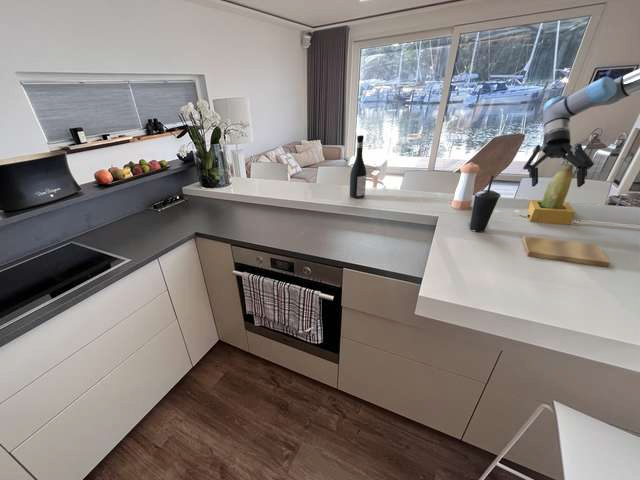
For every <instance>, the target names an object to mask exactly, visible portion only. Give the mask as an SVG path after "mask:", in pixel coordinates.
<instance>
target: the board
mask: <svg viewBox="0 0 640 480" xmlns="http://www.w3.org/2000/svg"><path fill="white" fill-rule="evenodd" d="M522 240H523V241H522V243H524V244H523V247H524V250H525V254H526V253H527V254H526V256H527V257H531V256H532V257H531V258H540V259H546V260H554V261H560V262H569V263H575V264H576V263H577V264H582V265H583V264H584V265H591V266H598V267H605V268H608V267H609V266H610V264H611V261H610V260H609V258H608V257H607V256H606V255H605V253H604V252H603V250H602V249H601V248H600V247H599V245H598V244H596V243H587V242H578V241H567V240H561V239H549V238H543V237H533V236H523V237H522Z"/></svg>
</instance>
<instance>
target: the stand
mask: <svg viewBox="0 0 640 480" xmlns="http://www.w3.org/2000/svg"><path fill="white" fill-rule="evenodd" d="M542 201H543V199H542V200H541V199H529V202H528V204H527V207H526V208H527V211H528V213H529V214H527V218H528V220H529V222H532V223H534V222H535V223H543V224H554V225H564V226H565V225H567V226H570V225H571V223H572V221H573V219H574V217H575V214H576V211H575V209H574V208H573V207H572V206H571V204H570V203H569V201H564V203H563V205H562V207H561V208H560V209H550V208H541V205H542Z"/></svg>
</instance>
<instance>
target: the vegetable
mask: <svg viewBox="0 0 640 480" xmlns="http://www.w3.org/2000/svg"><path fill="white" fill-rule="evenodd" d="M573 174H574V165H572V164H571V163H567V164H565V165H564V166H563V167H562V168H561V169H559V170H558V171H557V172H556V173H555V174H554V175H553V177H552V178H551V179H550V182H549V184H548V185H547V187H546V189H545V192H544V194H543V196H542V197H543V198H542V200H543V201H542V205H541V208H550V209H560V208H561V207H562V205H563V203H564V202H565V200H566V198H567V195H568V192H569V190H570V187H571V183H572V181H573Z"/></svg>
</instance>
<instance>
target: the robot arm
mask: <svg viewBox="0 0 640 480" xmlns="http://www.w3.org/2000/svg"><path fill="white" fill-rule="evenodd" d="M639 92H640V67H639V68H638V69H634V70H633V71H631V72H628V73H626V74H624V75H622V76H619V77H617V78H615V79H613V78H611V77H610V76H603V77H601V78H599V79H597V80H595V81H593V82H591V83H590V84H588V85H586V86H584V87H583V88H581V89H579V90H578V91H576V92H574V93H572V94H571V95H569V96H567V95H558V96H557V97H552V98H550V99H549V100H547V101H546V102H545V103H544V105H543V109H542V123H543V128H542V134H543V135H542V136H543V137H542V138H543V139H542V141H543V142H542V143H543V145H542V146H541V145H540V144H537V145H535V147H534V148H533V149H532V153H531V156H530V157H529V159H528V160H527V161H526V163H525V164H524V165H523V167H522V170H527V172H528V175H529V176H528V177H529V178H530V179H531V187H532V188H533V187H536V186H537V185H538V184H539V167H538V166H539V165H540V164H541V163H542V162H544V161H545V160H547V159H548V158H549V159H563V160H565V161H567V162H568V163H569V164H571V165H573V167H575V168H576V169H577V170H576V187H577V188H581V187H582V186H584V185H585V184H586V177H588V170H590V169H591V168H592V167H593V166H595V163H594V161H593V160H592V159H591V158H590V156H589V155H588V154H587V153H586V151H585V150H584V149H583V145H582V143H578V144H577V145H571V139H572V138H571V118H573V117H574V116H577V115H578V114H581V113H583V112H585V111H586V110H588V109H591V108H595V107H602V106H609V105H612V104H615V103H617V102H619V101H622V100H623V99H625V98H628V97H630V96H633V95H634V94H637V93H639ZM541 152H543V153H544V154H543V155H542V156H541V157H540V158H539V159H537V160H536V161H535V162H534V163H533V161H534V160H535V158H536V157H537V156H538V154H539V153H541Z"/></svg>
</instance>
